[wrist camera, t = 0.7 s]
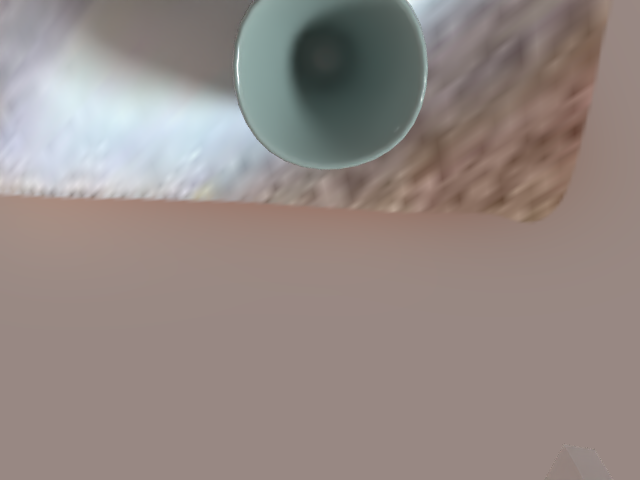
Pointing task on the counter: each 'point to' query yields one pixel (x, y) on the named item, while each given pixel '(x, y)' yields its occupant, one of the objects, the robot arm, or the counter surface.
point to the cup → (329, 78)
